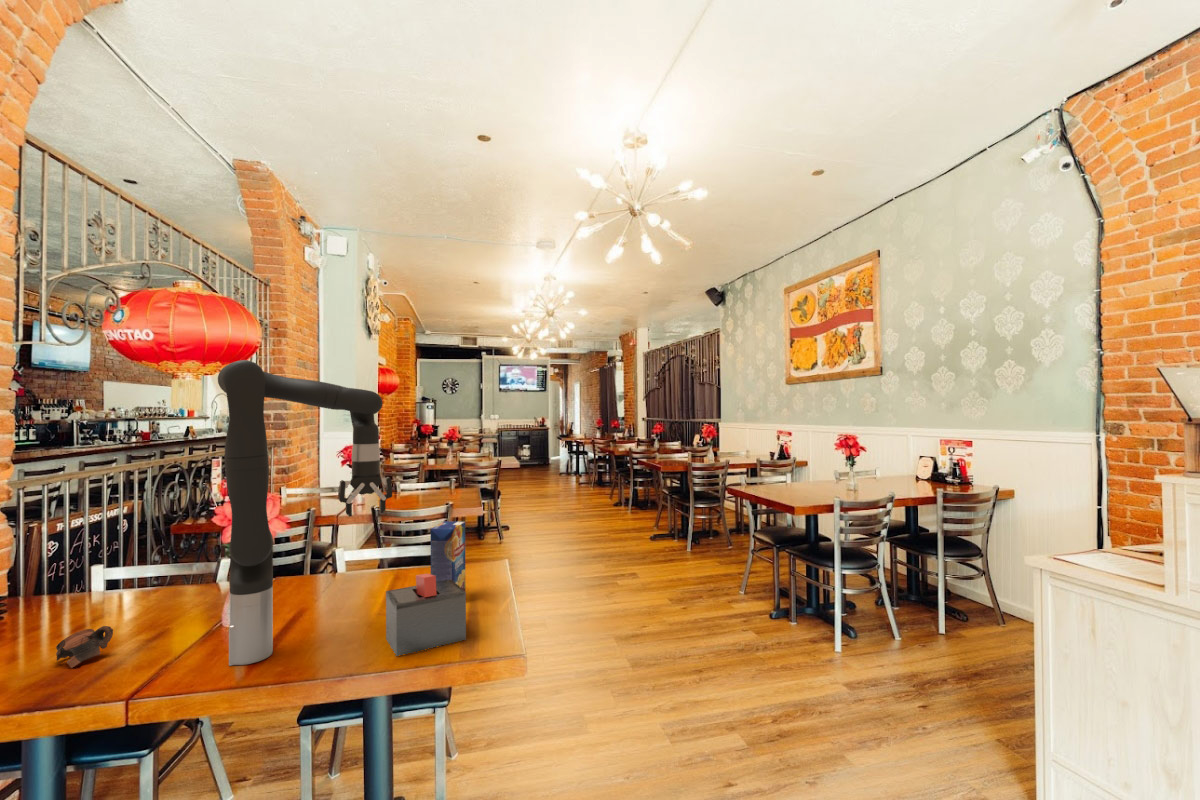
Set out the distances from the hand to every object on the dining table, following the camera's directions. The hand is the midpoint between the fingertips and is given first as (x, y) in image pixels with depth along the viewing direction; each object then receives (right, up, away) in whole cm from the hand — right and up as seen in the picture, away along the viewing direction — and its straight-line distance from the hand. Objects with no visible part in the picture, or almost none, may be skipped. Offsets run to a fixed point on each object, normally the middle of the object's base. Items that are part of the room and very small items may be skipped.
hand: (365, 514), depth 157 cm
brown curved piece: (-58, -32, -22) cm, 70 cm away
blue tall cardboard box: (+18, -33, +22) cm, 43 cm away
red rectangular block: (+23, -16, -15) cm, 32 cm away
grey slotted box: (+21, -32, -11) cm, 40 cm away
